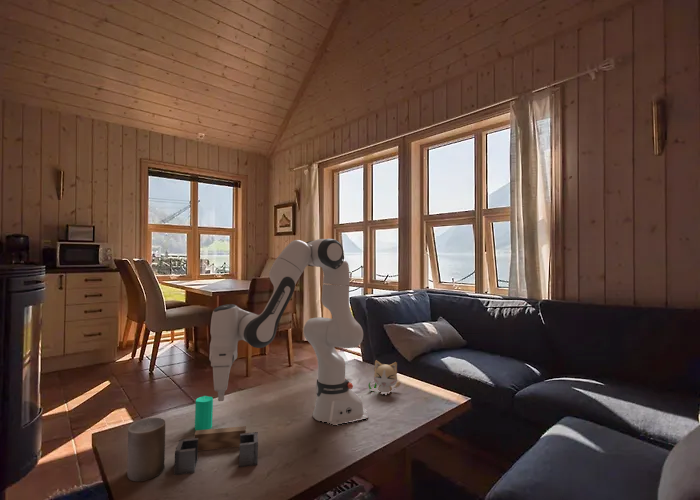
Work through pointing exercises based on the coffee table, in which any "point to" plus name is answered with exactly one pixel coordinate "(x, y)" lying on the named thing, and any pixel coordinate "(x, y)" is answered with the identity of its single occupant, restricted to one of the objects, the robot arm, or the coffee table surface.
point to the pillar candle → (146, 449)
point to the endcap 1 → (186, 456)
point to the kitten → (385, 376)
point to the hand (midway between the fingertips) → (222, 394)
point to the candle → (203, 413)
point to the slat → (219, 438)
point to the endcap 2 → (248, 449)
